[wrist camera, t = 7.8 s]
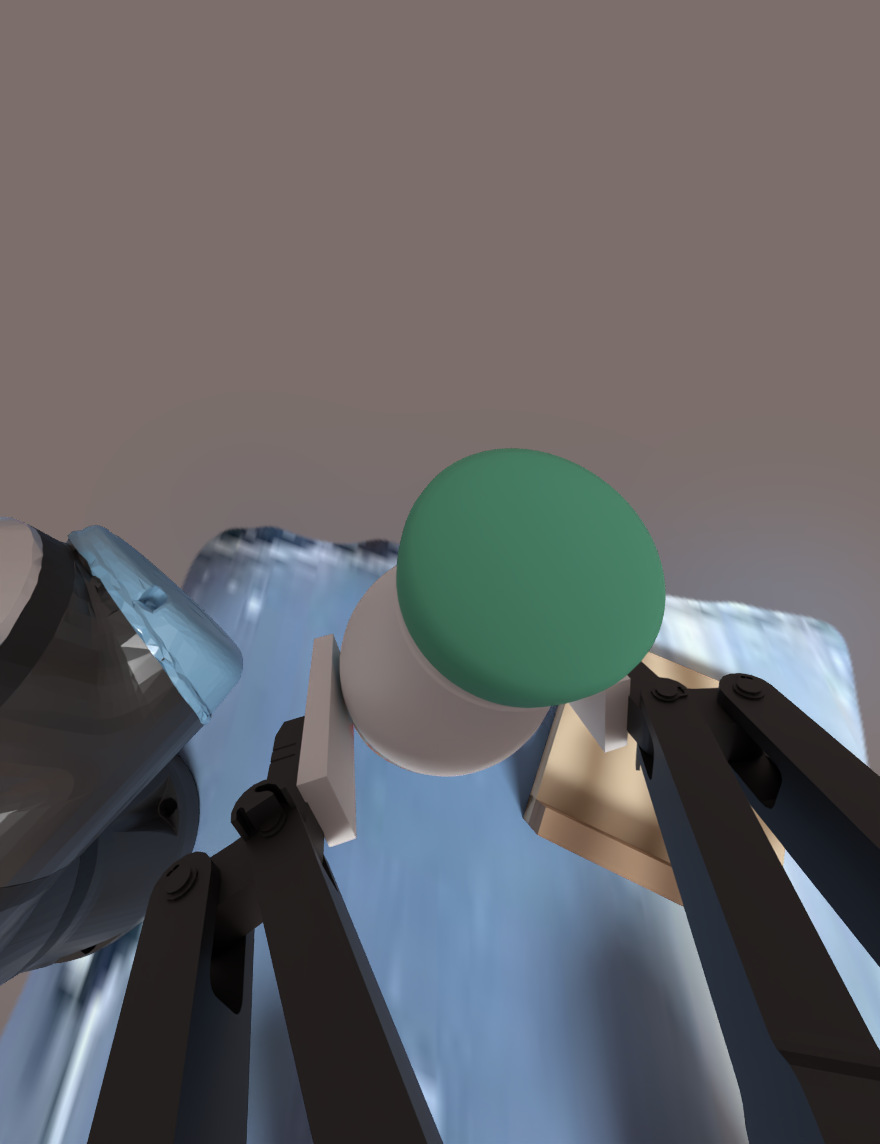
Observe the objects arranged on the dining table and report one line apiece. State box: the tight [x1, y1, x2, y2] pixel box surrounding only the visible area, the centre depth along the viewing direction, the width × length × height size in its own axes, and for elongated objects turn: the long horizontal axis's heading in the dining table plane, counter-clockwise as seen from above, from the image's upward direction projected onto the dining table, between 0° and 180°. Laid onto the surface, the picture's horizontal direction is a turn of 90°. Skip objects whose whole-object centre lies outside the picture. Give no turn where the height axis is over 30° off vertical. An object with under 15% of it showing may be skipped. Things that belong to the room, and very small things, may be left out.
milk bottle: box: [339, 448, 665, 776], centre depth 15 cm, size 8×8×20 cm
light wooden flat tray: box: [523, 652, 785, 907], centre depth 33 cm, size 20×18×5 cm
